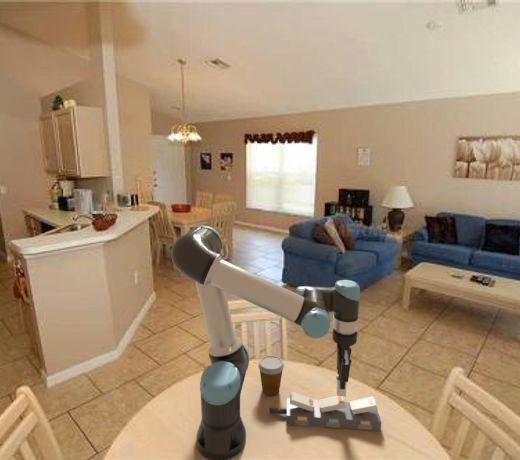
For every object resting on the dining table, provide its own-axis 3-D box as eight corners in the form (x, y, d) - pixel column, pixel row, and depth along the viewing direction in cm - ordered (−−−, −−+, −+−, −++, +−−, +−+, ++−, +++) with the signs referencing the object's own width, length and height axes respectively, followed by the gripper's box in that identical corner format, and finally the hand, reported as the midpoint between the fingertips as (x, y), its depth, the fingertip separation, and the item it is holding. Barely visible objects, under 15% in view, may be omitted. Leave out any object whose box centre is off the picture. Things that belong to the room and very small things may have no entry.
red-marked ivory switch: (289, 403, 113) (291, 399, 112) (289, 395, 116) (291, 391, 116) (312, 412, 113) (315, 407, 112) (312, 403, 116) (314, 398, 116)
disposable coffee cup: (281, 401, 123) (282, 371, 120) (255, 397, 124) (255, 368, 122) (285, 384, 132) (285, 356, 129) (260, 380, 134) (261, 353, 131)
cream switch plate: (321, 412, 112) (320, 407, 112) (320, 403, 116) (319, 399, 116) (346, 407, 111) (344, 402, 111) (344, 399, 115) (342, 394, 115)
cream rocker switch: (353, 414, 111) (351, 409, 111) (350, 405, 115) (349, 401, 115) (377, 409, 110) (376, 404, 110) (374, 400, 114) (373, 395, 114)
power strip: (268, 424, 112) (268, 412, 111) (269, 405, 120) (269, 394, 119) (380, 432, 109) (382, 419, 108) (374, 412, 117) (375, 401, 116)
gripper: (361, 340, 101) (356, 409, 106) (353, 319, 114) (349, 382, 119) (335, 339, 101) (331, 408, 107) (330, 319, 114) (327, 381, 119)
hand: (341, 394), depth 113 cm, fingers closed
